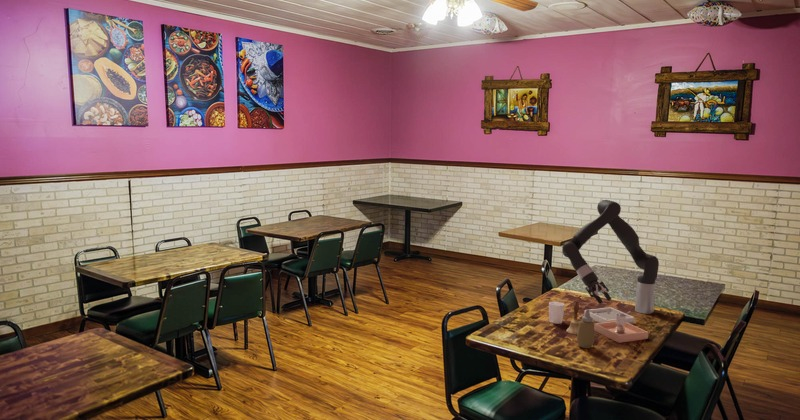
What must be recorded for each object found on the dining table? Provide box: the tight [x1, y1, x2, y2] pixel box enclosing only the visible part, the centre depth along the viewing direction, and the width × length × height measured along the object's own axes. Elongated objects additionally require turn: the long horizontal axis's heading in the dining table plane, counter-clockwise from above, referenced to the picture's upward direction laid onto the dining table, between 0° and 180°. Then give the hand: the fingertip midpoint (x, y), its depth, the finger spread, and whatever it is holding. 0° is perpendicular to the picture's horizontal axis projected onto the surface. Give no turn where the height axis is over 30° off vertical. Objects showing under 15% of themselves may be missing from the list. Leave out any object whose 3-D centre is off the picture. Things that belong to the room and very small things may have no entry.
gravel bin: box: [583, 306, 635, 325], centre depth 305 cm, size 18×18×4 cm
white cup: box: [548, 300, 565, 325], centre depth 300 cm, size 8×8×10 cm
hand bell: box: [566, 300, 580, 335], centre depth 285 cm, size 8×8×16 cm
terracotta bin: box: [594, 321, 649, 344], centre depth 283 cm, size 18×18×4 cm
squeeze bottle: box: [576, 309, 596, 349], centre depth 265 cm, size 8×8×18 cm
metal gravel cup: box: [615, 314, 626, 334], centre depth 283 cm, size 4×4×9 cm
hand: (605, 301), depth 288 cm, fingers open, 8 cm apart
